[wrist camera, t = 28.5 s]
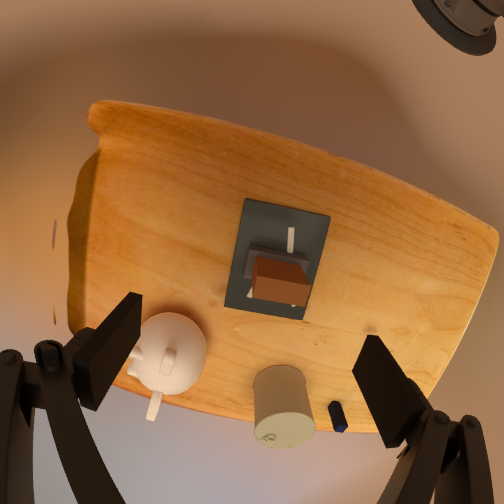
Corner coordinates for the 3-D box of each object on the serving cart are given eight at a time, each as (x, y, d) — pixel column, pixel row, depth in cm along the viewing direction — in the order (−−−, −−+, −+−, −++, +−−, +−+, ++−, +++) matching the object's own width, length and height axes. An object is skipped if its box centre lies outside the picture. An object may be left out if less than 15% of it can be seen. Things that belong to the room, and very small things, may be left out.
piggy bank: (138, 294, 44) (97, 344, 30) (211, 302, 44) (195, 360, 30) (144, 358, 47) (115, 416, 33) (210, 367, 48) (198, 431, 33)
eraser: (335, 409, 51) (343, 433, 44) (326, 407, 51) (333, 431, 44) (341, 402, 50) (350, 426, 44) (332, 399, 50) (340, 424, 43)
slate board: (245, 198, 40) (245, 198, 39) (329, 216, 41) (331, 217, 40) (224, 303, 44) (224, 306, 43) (301, 317, 45) (302, 320, 44)
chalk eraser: (249, 244, 41) (249, 267, 31) (305, 256, 41) (321, 281, 32) (243, 271, 42) (241, 301, 32) (298, 282, 42) (311, 313, 33)
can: (243, 379, 48) (241, 429, 37) (290, 356, 47) (299, 405, 35) (269, 409, 50) (273, 457, 39) (313, 388, 49) (326, 436, 38)
